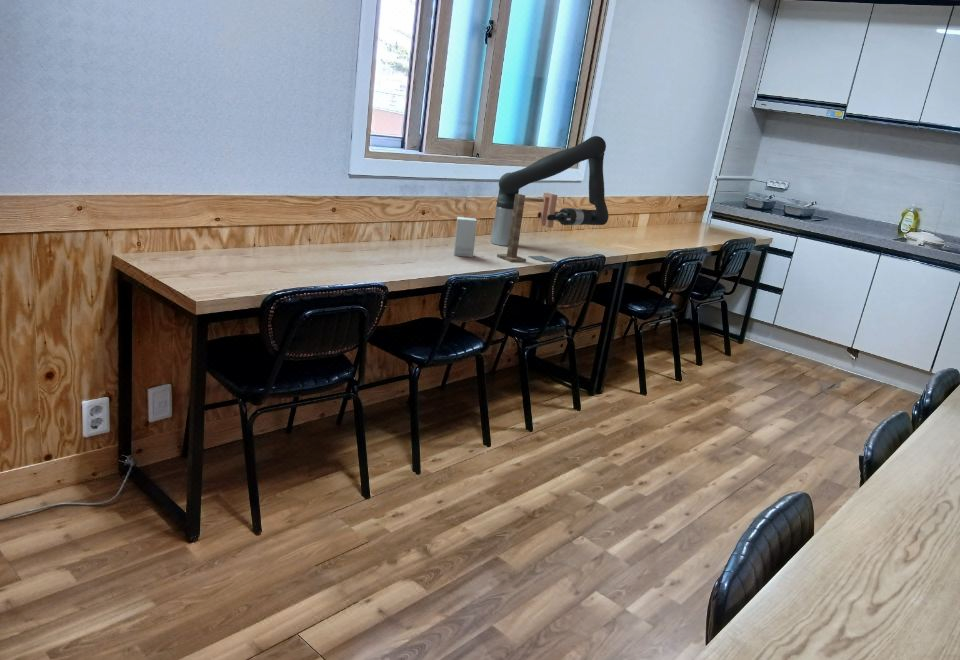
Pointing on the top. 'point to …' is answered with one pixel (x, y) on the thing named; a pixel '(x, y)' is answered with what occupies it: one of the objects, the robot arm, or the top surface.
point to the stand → (516, 229)
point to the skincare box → (465, 236)
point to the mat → (542, 258)
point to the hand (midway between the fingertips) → (543, 216)
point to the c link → (548, 209)
